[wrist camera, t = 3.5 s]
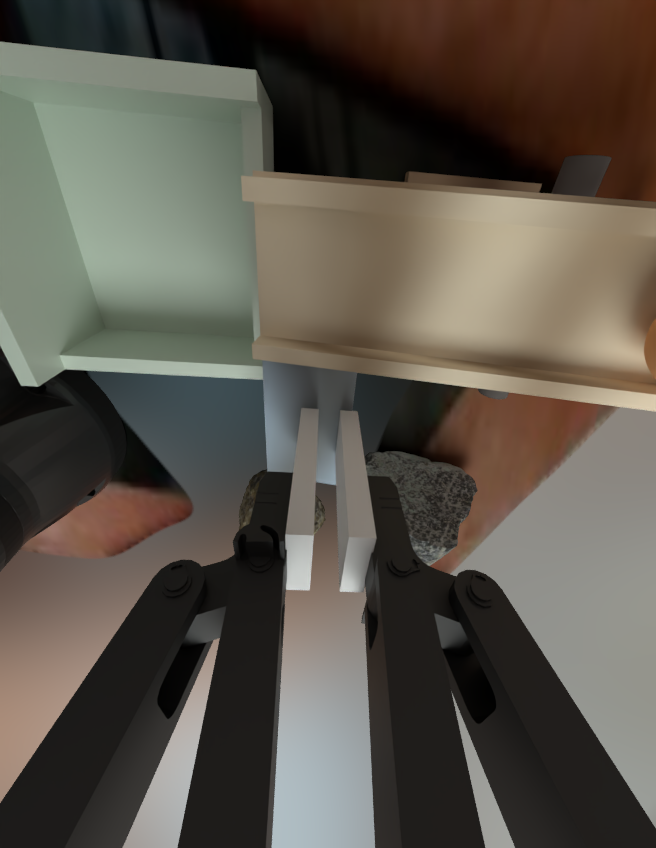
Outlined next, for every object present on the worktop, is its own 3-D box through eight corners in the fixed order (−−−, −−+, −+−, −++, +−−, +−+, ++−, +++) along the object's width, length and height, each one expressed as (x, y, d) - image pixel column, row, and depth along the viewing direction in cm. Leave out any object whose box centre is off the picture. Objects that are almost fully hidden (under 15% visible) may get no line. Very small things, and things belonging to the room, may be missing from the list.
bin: (101, 336, 21) (21, 385, 16) (16, 79, 15) (-181, -2, 9) (277, 347, 22) (262, 397, 16) (272, 106, 15) (245, 46, 10)
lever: (277, 452, 19) (251, 510, 15) (270, 139, 11) (213, 104, 7) (644, 508, 17) (714, 589, 13) (940, 186, 9) (1293, 170, 6)
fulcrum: (380, 324, 21) (410, 380, 15) (405, 172, 17) (464, 150, 10) (575, 337, 22) (688, 395, 15) (648, 195, 18) (852, 189, 11)
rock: (219, 484, 30) (205, 525, 26) (296, 457, 28) (292, 496, 24) (259, 529, 33) (252, 570, 30) (328, 507, 32) (330, 547, 28)
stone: (473, 542, 18) (369, 620, 23) (506, 504, 26) (424, 568, 31) (368, 426, 23) (298, 511, 27) (423, 423, 30) (362, 489, 35)
